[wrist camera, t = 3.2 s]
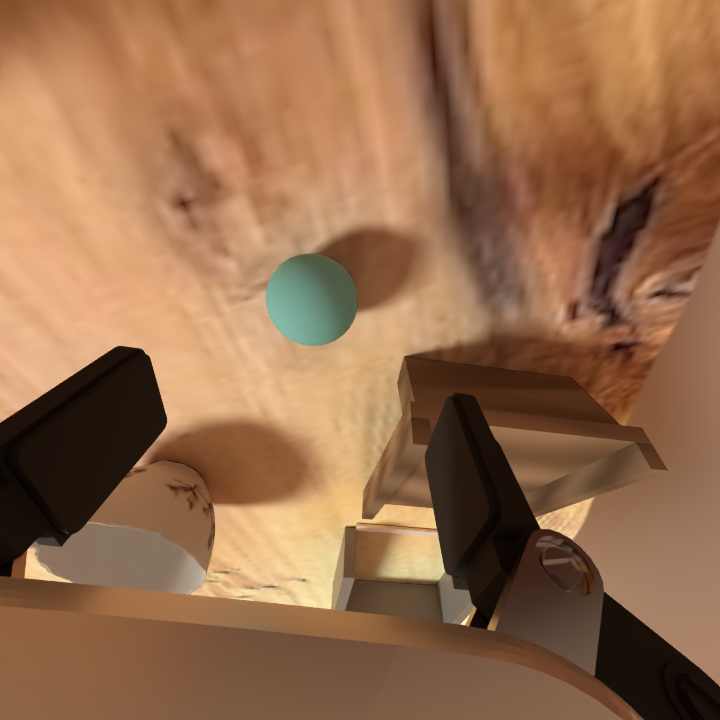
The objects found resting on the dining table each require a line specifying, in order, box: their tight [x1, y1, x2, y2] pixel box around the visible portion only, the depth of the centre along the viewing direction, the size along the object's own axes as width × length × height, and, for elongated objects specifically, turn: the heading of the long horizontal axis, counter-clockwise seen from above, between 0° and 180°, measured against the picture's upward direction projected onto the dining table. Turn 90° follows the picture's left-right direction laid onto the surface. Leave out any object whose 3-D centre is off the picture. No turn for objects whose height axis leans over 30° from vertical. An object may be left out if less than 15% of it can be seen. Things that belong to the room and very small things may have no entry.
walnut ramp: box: [362, 357, 668, 519], centre depth 23 cm, size 18×14×8 cm
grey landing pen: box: [331, 523, 474, 625], centre depth 36 cm, size 16×16×5 cm
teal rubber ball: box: [266, 254, 358, 346], centre depth 16 cm, size 5×5×5 cm
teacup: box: [29, 460, 215, 595], centre depth 26 cm, size 15×12×8 cm
